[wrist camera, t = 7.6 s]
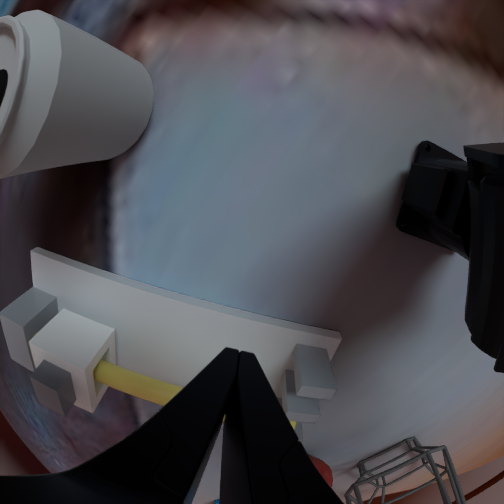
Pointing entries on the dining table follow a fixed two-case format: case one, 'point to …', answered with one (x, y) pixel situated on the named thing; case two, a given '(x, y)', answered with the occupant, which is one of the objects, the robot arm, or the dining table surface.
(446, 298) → the dining table surface
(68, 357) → the sleeve
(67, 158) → the can
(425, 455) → the geometric lantern
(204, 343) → the linear slider
